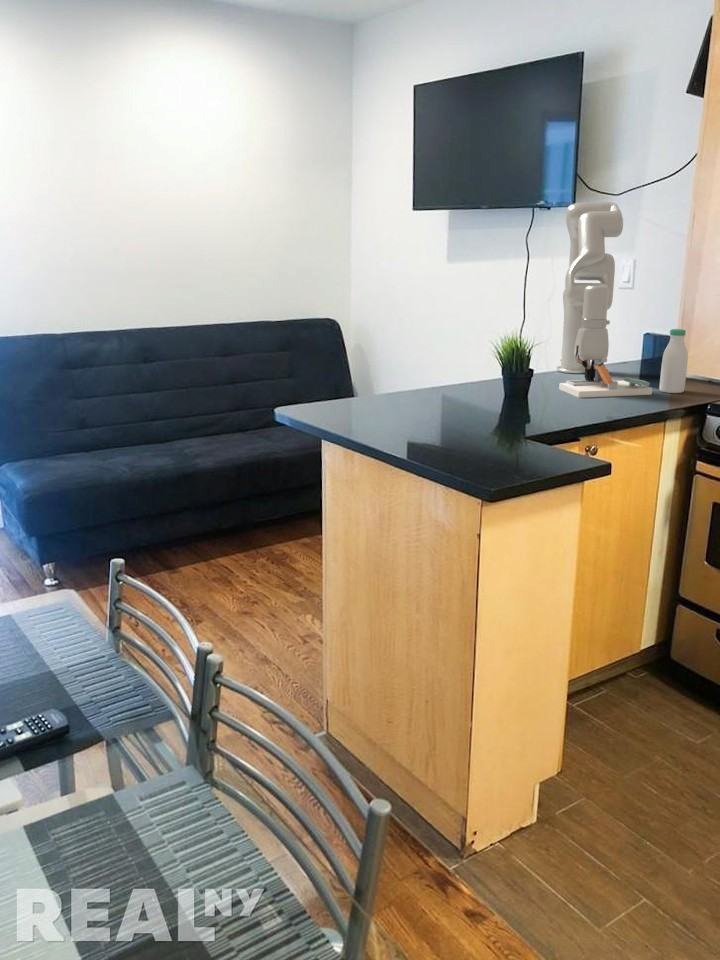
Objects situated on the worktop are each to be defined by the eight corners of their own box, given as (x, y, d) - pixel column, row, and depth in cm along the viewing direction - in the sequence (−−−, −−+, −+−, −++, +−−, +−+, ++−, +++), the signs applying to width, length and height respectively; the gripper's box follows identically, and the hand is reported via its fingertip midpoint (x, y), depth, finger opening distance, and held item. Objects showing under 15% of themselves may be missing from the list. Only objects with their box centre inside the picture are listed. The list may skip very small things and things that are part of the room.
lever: (604, 384, 263) (593, 362, 260) (608, 381, 263) (597, 360, 260) (610, 386, 260) (599, 364, 257) (614, 384, 260) (603, 361, 257)
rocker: (622, 380, 264) (623, 376, 264) (641, 384, 266) (642, 380, 265) (630, 383, 259) (632, 379, 258) (650, 387, 260) (651, 383, 260)
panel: (559, 389, 271) (559, 377, 270) (628, 386, 275) (629, 374, 274) (578, 397, 257) (579, 385, 255) (651, 394, 261) (652, 382, 260)
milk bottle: (687, 393, 262) (694, 330, 256) (663, 393, 262) (670, 331, 256) (679, 389, 269) (685, 328, 263) (655, 389, 269) (661, 328, 264)
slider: (594, 382, 271) (595, 366, 269) (602, 381, 271) (603, 366, 270) (598, 383, 268) (599, 368, 266) (607, 383, 268) (608, 368, 267)
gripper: (610, 322, 268) (605, 377, 273) (567, 323, 265) (563, 379, 271) (620, 325, 261) (615, 381, 266) (577, 326, 258) (572, 383, 264)
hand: (589, 380), depth 269 cm, fingers closed
